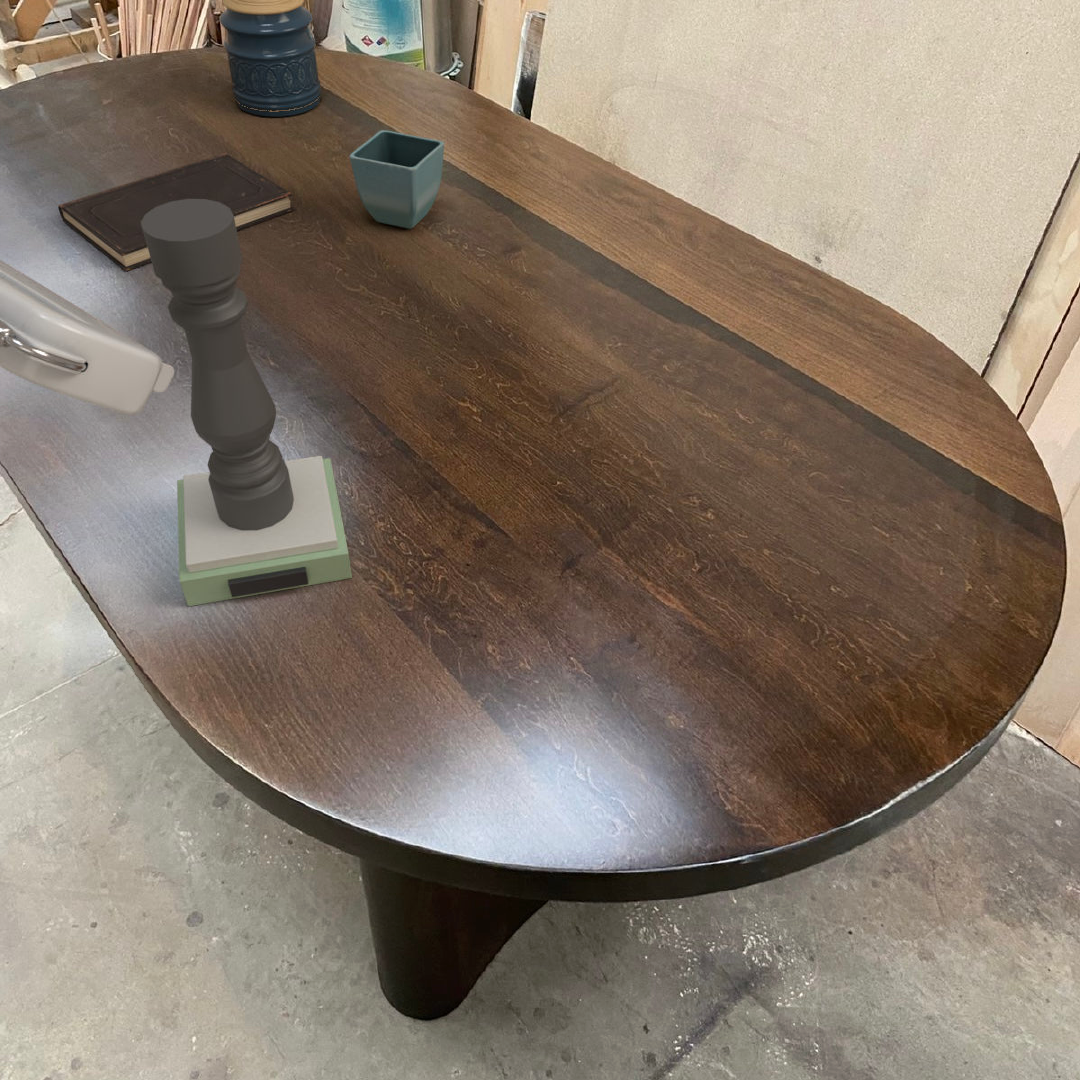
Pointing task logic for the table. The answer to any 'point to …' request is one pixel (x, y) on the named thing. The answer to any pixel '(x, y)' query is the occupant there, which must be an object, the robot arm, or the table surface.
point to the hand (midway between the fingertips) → (115, 347)
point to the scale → (262, 540)
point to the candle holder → (220, 359)
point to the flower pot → (398, 176)
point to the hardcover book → (122, 209)
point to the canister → (271, 56)
